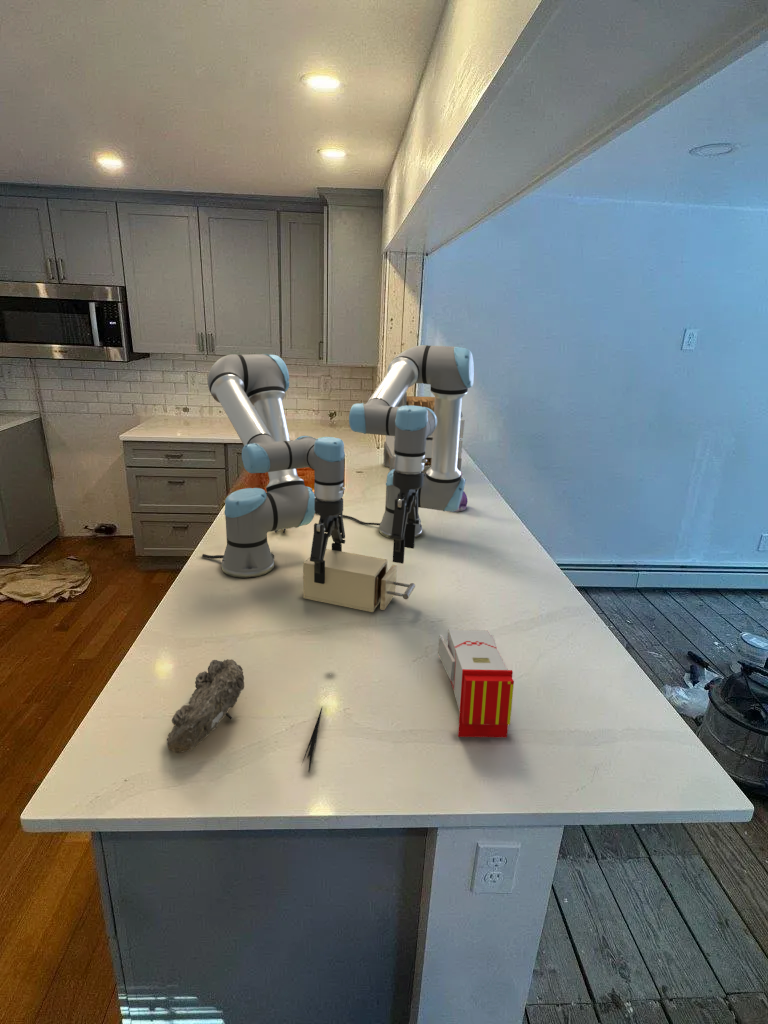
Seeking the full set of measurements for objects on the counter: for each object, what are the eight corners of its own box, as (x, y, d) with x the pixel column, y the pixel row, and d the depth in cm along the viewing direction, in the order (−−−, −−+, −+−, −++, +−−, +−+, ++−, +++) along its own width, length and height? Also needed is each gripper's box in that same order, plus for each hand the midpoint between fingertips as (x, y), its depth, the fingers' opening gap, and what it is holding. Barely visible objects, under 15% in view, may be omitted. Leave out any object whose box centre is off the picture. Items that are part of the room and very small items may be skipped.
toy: (488, 613, 130) (523, 677, 101) (484, 667, 133) (517, 744, 104) (435, 612, 130) (455, 676, 101) (432, 666, 133) (451, 743, 103)
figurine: (454, 513, 222) (457, 476, 217) (439, 505, 230) (442, 470, 225) (473, 510, 226) (477, 474, 221) (459, 503, 234) (462, 468, 229)
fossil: (192, 660, 117) (244, 628, 112) (224, 691, 120) (276, 661, 115) (142, 746, 98) (202, 712, 93) (182, 779, 101) (242, 748, 96)
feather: (331, 679, 122) (336, 673, 122) (307, 777, 96) (313, 769, 95) (324, 675, 122) (329, 669, 121) (298, 772, 95) (304, 764, 95)
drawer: (415, 597, 154) (417, 568, 151) (405, 614, 146) (407, 584, 143) (332, 581, 161) (332, 553, 158) (318, 596, 152) (318, 567, 149)
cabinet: (385, 593, 158) (387, 559, 154) (372, 612, 148) (374, 575, 144) (319, 581, 163) (320, 547, 160) (303, 598, 153) (303, 562, 150)
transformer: (382, 463, 289) (386, 382, 275) (445, 464, 293) (451, 384, 279) (390, 482, 257) (394, 392, 243) (460, 483, 261) (468, 394, 247)
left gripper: (324, 513, 136) (323, 595, 143) (358, 487, 157) (356, 559, 164) (295, 509, 138) (296, 589, 145) (333, 483, 159) (332, 555, 166)
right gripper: (411, 484, 127) (406, 574, 135) (433, 461, 147) (427, 541, 155) (379, 480, 129) (376, 569, 137) (406, 458, 149) (401, 537, 157)
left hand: (328, 573), depth 155 cm, fingers closed on cabinet, 11 cm apart
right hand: (403, 554), depth 146 cm, fingers open, 9 cm apart
